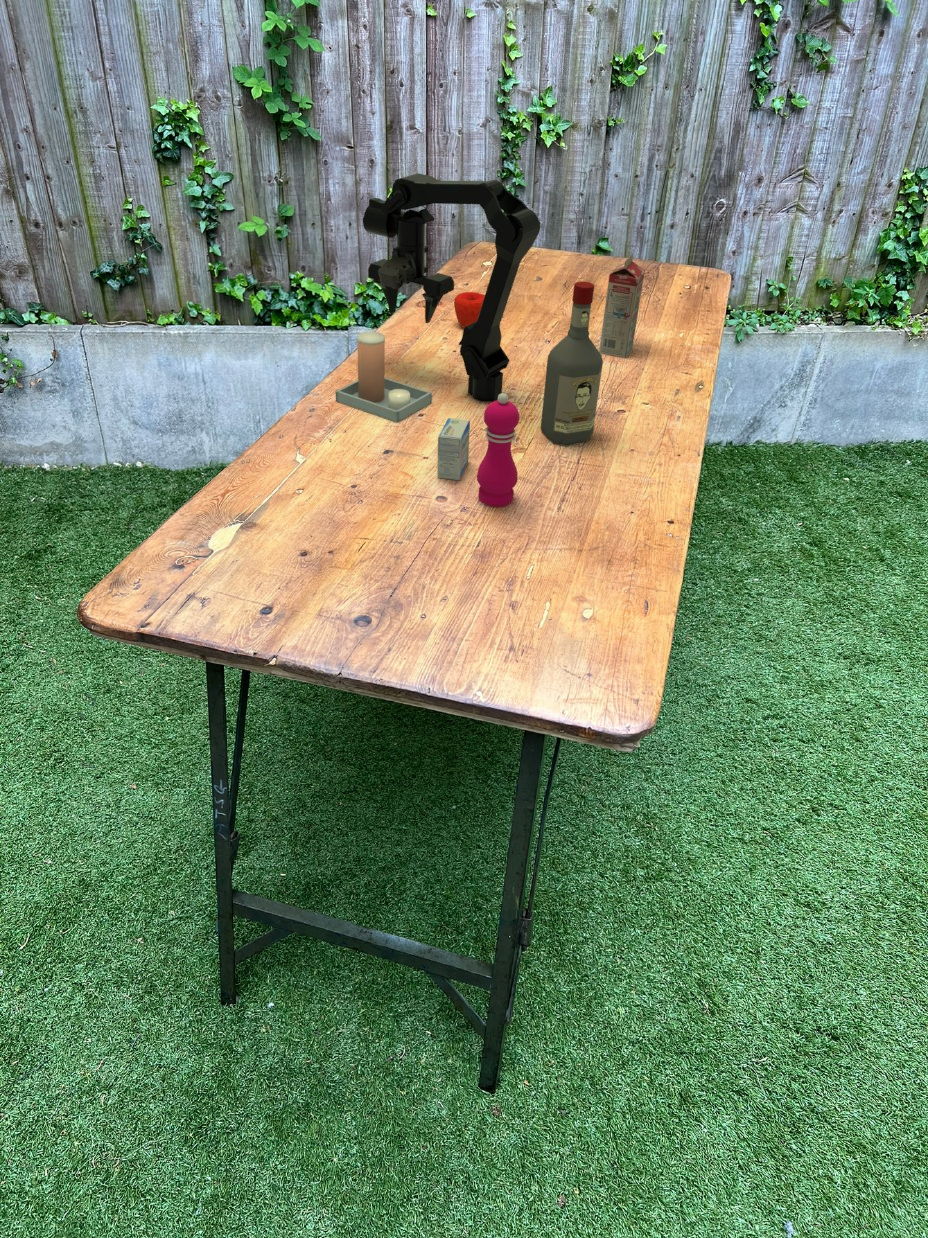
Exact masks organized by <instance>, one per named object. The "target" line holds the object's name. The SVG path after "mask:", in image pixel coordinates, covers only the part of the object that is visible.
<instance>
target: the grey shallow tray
mask: <svg viewBox="0 0 928 1238" xmlns="http://www.w3.org/2000/svg"><path fill="white" fill-rule="evenodd" d="M394 389H404V390H407V391H409V392H410V403H409V404H407V405H406V406H404V407H402V408H400V409H399V410H394V409H391V408H389V392H390V391H391V390H394ZM432 401H433V393H432V392H431V391H428V390H425V389H422V388H420V387H419V388H418V387H415V386H412V385H410V384H406V383H403V382H400V381H397V380H395V379H391V378H389V377H385V394H384V400H382V401H380V402H377V403H373V402H370V401H367V400H364V399H361V398H359V397H358V379H356V380H355V381H353V382H351V383H349V384H347V385H345V386H342V387H340V388H339V389H337V390H335V402H336V403H340V404H343V405H346V406H348V407H352V408H353V409H357V410H360V411H363V412H365V413H368V414H371V415H374V416H377V417H380V418H383V419H385V420H388V421H391V422H394V423H397V424H398V423H400V422H401V421H403V420H405V419H407V418H408V417H410V416H411V415H413V414H415V413H417V412H419V411H421V410H422V409H423V408H425V407H427V406H429V405H431V404H432V403H433V402H432Z"/></svg>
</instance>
